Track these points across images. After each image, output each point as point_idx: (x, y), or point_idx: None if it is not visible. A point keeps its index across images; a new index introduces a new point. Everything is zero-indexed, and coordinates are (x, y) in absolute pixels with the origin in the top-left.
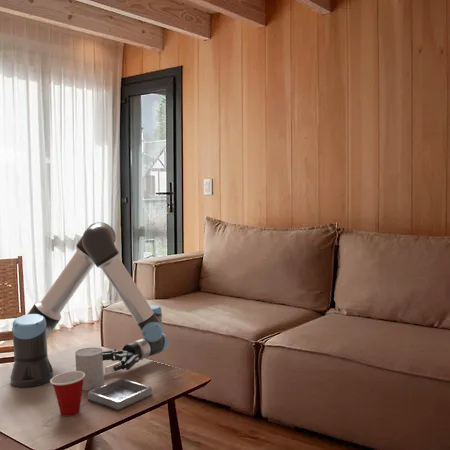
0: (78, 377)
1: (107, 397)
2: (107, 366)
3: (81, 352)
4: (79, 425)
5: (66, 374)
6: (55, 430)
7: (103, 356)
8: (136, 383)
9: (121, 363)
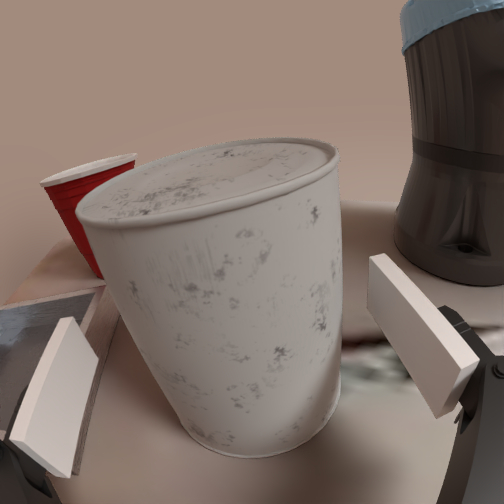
0: (79, 192)
1: (25, 304)
2: (62, 331)
3: (249, 150)
4: (63, 263)
5: (116, 167)
6: None
7: (457, 485)
8: None
9: (6, 446)
